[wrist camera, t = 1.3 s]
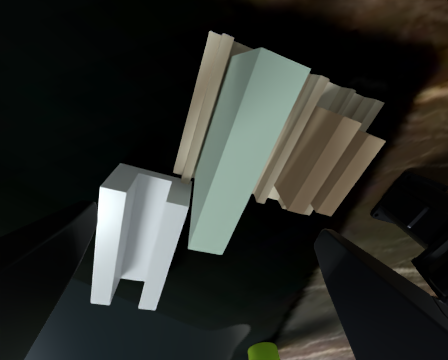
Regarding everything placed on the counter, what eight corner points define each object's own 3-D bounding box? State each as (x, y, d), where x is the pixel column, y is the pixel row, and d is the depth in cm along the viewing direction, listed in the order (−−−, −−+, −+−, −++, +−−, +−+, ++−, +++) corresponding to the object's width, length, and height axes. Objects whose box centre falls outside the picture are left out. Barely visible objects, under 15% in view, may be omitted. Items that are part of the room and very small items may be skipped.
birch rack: (369, 101, 19) (390, 105, 17) (304, 203, 25) (314, 216, 22) (209, 32, 16) (210, 27, 14) (174, 168, 21) (170, 180, 19)
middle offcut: (325, 109, 18) (362, 123, 14) (283, 184, 22) (303, 214, 17) (310, 103, 18) (344, 116, 14) (271, 180, 22) (287, 210, 17)
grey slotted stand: (192, 181, 22) (188, 207, 18) (162, 277, 29) (155, 310, 25) (120, 163, 20) (100, 186, 16) (107, 268, 27) (90, 303, 23)
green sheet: (254, 66, 16) (311, 68, 8) (215, 174, 21) (221, 255, 12) (231, 56, 16) (261, 47, 7) (195, 169, 20) (188, 248, 12)
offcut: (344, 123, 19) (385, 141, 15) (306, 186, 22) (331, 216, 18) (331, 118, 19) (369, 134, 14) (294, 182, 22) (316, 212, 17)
